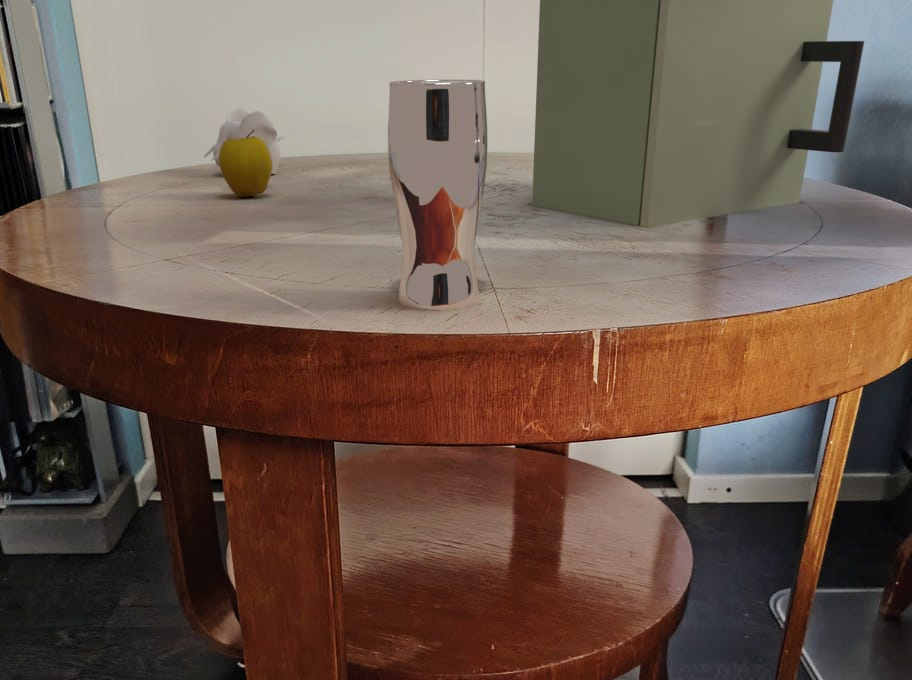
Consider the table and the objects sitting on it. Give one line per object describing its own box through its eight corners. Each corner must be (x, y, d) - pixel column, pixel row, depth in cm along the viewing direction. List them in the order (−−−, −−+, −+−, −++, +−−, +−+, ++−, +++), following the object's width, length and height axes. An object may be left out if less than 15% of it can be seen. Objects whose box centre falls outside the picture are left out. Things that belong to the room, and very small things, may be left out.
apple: (285, 195, 116) (279, 128, 112) (247, 202, 111) (239, 132, 107) (251, 191, 119) (245, 126, 115) (213, 197, 115) (205, 130, 111)
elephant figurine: (200, 173, 136) (192, 109, 132) (276, 168, 141) (271, 106, 137) (218, 181, 128) (210, 113, 124) (297, 175, 133) (292, 109, 129)
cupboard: (788, 211, 101) (829, -38, 90) (636, 237, 89) (662, -47, 78) (678, 194, 113) (702, -28, 102) (531, 215, 100) (540, -35, 89)
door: (846, 219, 95) (896, -42, 85) (693, 247, 83) (729, -52, 73) (790, 210, 101) (830, -36, 90) (638, 236, 88) (664, -46, 78)
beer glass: (428, 285, 72) (425, 78, 65) (502, 297, 68) (507, 79, 62) (373, 304, 67) (364, 82, 60) (451, 318, 63) (450, 84, 57)
